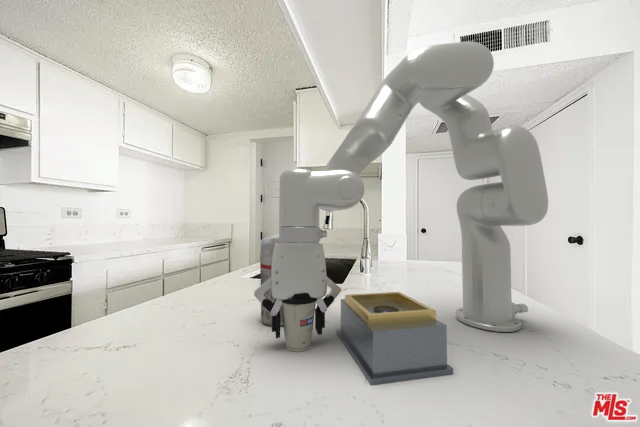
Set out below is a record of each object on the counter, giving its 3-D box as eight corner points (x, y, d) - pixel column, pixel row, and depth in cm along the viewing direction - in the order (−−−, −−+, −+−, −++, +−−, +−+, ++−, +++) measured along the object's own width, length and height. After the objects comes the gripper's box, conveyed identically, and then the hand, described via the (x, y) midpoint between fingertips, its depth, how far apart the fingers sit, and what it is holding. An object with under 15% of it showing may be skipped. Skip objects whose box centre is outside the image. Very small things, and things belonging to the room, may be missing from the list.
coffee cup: (271, 348, 46) (271, 291, 47) (294, 334, 52) (295, 284, 53) (302, 359, 43) (303, 298, 43) (324, 342, 49) (324, 289, 49)
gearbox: (337, 333, 53) (337, 291, 53) (402, 327, 56) (401, 287, 56) (370, 385, 36) (370, 323, 36) (461, 372, 39) (460, 315, 39)
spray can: (289, 329, 55) (290, 234, 55) (253, 326, 56) (254, 234, 57) (300, 315, 63) (301, 233, 64) (268, 312, 65) (269, 232, 65)
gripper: (338, 235, 54) (338, 322, 53) (252, 235, 50) (250, 329, 49) (350, 237, 46) (349, 338, 46) (249, 238, 43) (248, 347, 42)
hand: (298, 332), depth 48 cm, fingers closed on coffee cup, 7 cm apart
